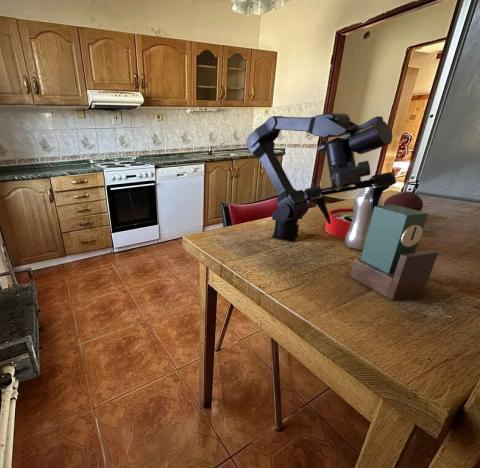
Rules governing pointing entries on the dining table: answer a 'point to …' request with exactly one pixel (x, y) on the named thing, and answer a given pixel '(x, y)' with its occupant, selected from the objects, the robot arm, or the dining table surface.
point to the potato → (405, 201)
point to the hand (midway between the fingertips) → (350, 221)
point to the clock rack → (398, 275)
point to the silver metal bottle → (360, 220)
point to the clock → (392, 235)
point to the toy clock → (339, 222)
